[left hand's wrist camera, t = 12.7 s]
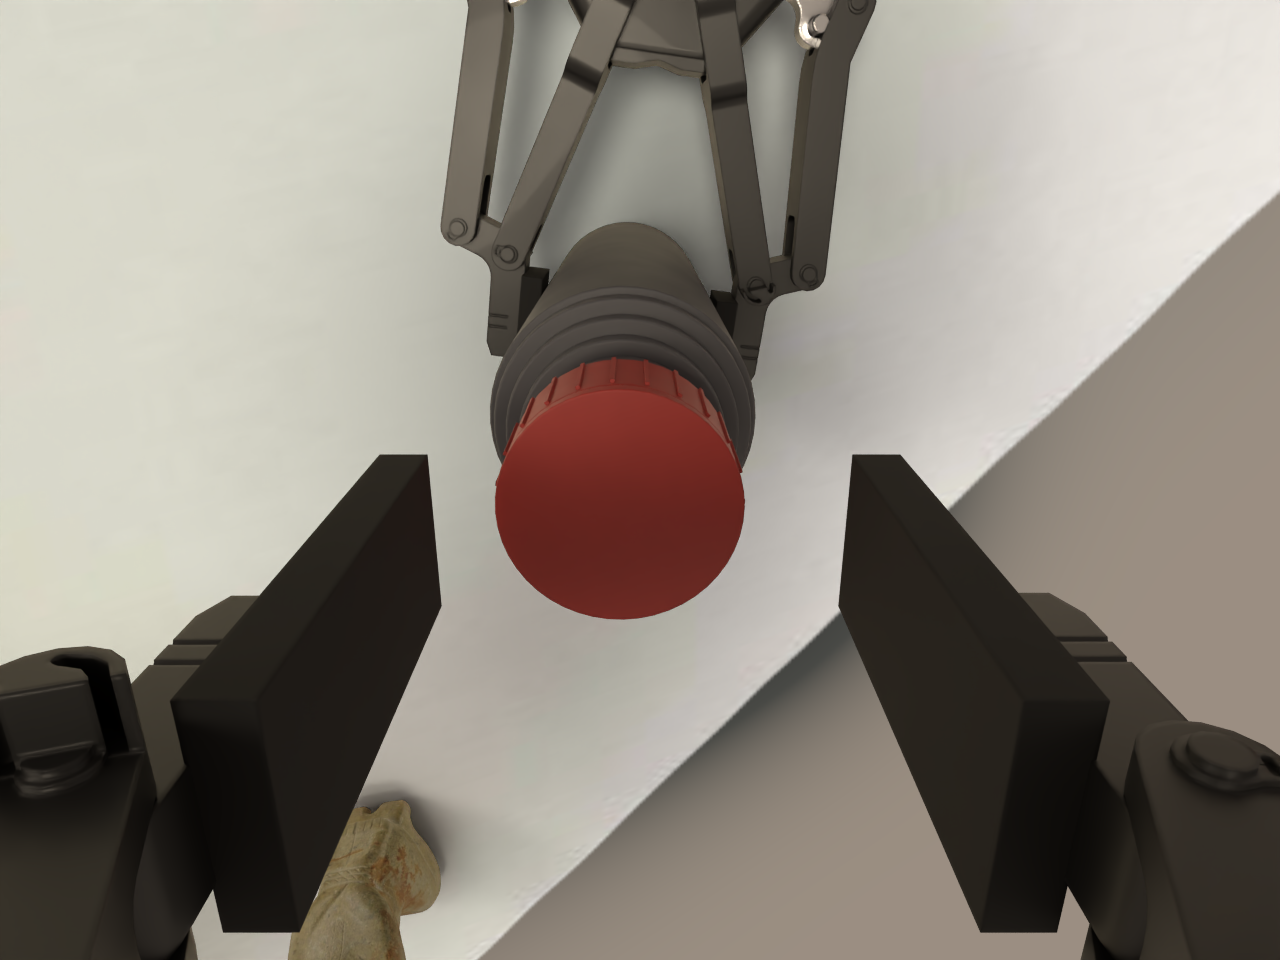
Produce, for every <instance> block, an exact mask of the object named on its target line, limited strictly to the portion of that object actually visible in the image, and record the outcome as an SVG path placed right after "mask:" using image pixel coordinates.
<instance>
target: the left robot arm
mask: <svg viewBox="0 0 1280 960" xmlns="http://www.w3.org/2000/svg"><path fill="white" fill-rule="evenodd" d="M441 606H442V605H441V595H440V584H439V573H438V562H437V552H436V541H435V530H434V519H433V509H432V498H431V487H430V476H429V466H428V455H379V456H378V457H377V458H376V460H375V461H374V462H373V463H372V464H371V465H370V467H369V468H368V469H367V470H366V471H365V473H364V474H363V475H362V476H361V477H360V478H359V480H358V481H357V482H356V483H355V484H354V485H353V487H352V488H351V489H350V490H349V491H348V492H347V494H346V495H345V496H344V497H343V498H342V499H341V501H340V502H339V503H338V504H337V505H336V507H335V508H334V509H333V510H332V511H331V512H330V514H329V515H328V516H327V517H326V518H325V519H324V521H323V522H322V523H321V524H320V525H319V526H318V528H317V529H316V530H315V531H314V532H313V533H312V535H311V536H310V537H309V538H308V539H307V540H306V542H305V543H304V544H303V545H302V546H301V548H300V549H299V550H298V551H297V552H296V553H295V555H294V556H293V557H292V558H291V559H290V560H289V562H288V563H287V564H286V565H285V566H284V567H283V569H282V570H281V571H280V572H279V573H278V574H277V576H276V577H275V578H274V579H273V580H272V581H271V583H270V584H269V585H268V586H267V587H266V589H265V590H264V591H263V592H262V593H261V594H260V596H230V597H228V598H227V599H225V600H223V601H221V602H220V603H218V604H216V605H214V606H213V607H211V608H209V609H207V610H206V611H204V612H202V613H200V614H199V615H197V616H196V617H195V618H194V619H193V620H192V621H191V622H190V623H189V624H188V625H187V626H186V627H185V628H184V629H183V630H182V631H181V632H180V633H179V634H178V635H177V636H176V638H175V639H174V640H173V645H168V646H167V647H166V648H165V649H164V650H163V651H162V652H161V653H160V654H159V655H158V656H157V657H156V659H155V660H154V665H149V666H148V667H147V668H146V669H145V670H144V671H143V672H142V673H141V674H140V675H139V676H138V677H137V678H136V680H135V681H134V682H133V683H132V684H131V682H130V678H129V674H128V670H127V666H126V662H125V659H124V658H123V657H121V656H120V655H118V654H117V653H115V652H114V651H112V650H109V649H103V648H96V647H90V646H85V647H71V648H58V649H54V650H49V651H45V652H41V653H37V654H32V655H28V656H24V657H22V658H19V659H16V660H14V661H11V662H9V663H6V664H4V665H1V666H0V960H198V958H197V951H196V944H195V940H194V936H193V932H192V928H191V926H192V924H193V923H194V921H195V919H196V918H197V916H198V914H199V912H200V911H201V909H202V907H203V905H204V904H205V902H206V900H207V899H208V897H209V895H210V893H211V892H212V890H213V891H214V895H215V899H216V904H217V908H218V912H219V917H220V921H221V925H222V930H223V933H300V930H301V928H302V926H303V923H304V921H305V919H306V916H307V914H308V912H309V910H310V907H311V905H312V903H313V900H314V898H315V896H316V894H317V891H318V889H319V887H320V884H321V882H322V880H323V877H324V875H325V873H326V871H327V868H328V866H329V864H330V861H331V859H332V857H333V854H334V852H335V850H336V848H337V845H338V843H339V841H340V838H341V836H342V834H343V831H344V829H345V827H346V825H347V822H348V820H349V818H350V815H351V813H352V811H353V808H354V806H355V804H356V802H357V799H358V797H359V795H360V792H361V790H362V788H363V785H364V783H365V781H366V779H367V776H368V774H369V772H370V769H371V767H372V765H373V762H374V760H375V758H376V756H377V753H378V751H379V749H380V746H381V744H382V742H383V739H384V737H385V735H386V733H387V730H388V728H389V726H390V723H391V721H392V719H393V716H394V714H395V712H396V710H397V707H398V705H399V703H400V700H401V698H402V696H403V693H404V691H405V689H406V687H407V684H408V682H409V680H410V677H411V675H412V673H413V670H414V668H415V666H416V664H417V661H418V659H419V657H420V654H421V652H422V650H423V647H424V645H425V643H426V641H427V638H428V636H429V634H430V631H431V629H432V627H433V624H434V622H435V620H436V618H437V615H438V613H439V611H440V608H441ZM838 606H839V608H840V611H841V613H842V615H843V618H844V620H845V622H846V624H847V627H848V629H849V631H850V634H851V636H852V638H853V641H854V643H855V645H856V647H857V650H858V652H859V654H860V657H861V659H862V661H863V664H864V666H865V668H866V670H867V673H868V675H869V677H870V680H871V682H872V684H873V687H874V689H875V691H876V693H877V696H878V698H879V700H880V703H881V705H882V707H883V709H884V712H885V714H886V716H887V719H888V721H889V723H890V726H891V728H892V730H893V733H894V735H895V737H896V739H897V742H898V744H899V746H900V748H901V751H902V753H903V756H904V758H905V760H906V762H907V765H908V767H909V769H910V772H911V774H912V776H913V779H914V781H915V783H916V785H917V788H918V790H919V792H920V795H921V797H922V799H923V802H924V804H925V806H926V808H927V811H928V813H929V815H930V818H931V820H932V822H933V825H934V827H935V829H936V831H937V834H938V836H939V838H940V841H941V843H942V845H943V848H944V850H945V852H946V854H947V857H948V859H949V861H950V864H951V866H952V868H953V870H954V873H955V875H956V877H957V880H958V882H959V884H960V887H961V889H962V891H963V893H964V896H965V898H966V900H967V903H968V905H969V907H970V909H971V912H972V914H973V916H974V919H975V921H976V923H977V926H978V928H979V930H980V932H981V933H1056V932H1057V930H1058V925H1059V921H1060V917H1061V912H1062V908H1063V904H1064V899H1065V895H1066V891H1067V886H1068V887H1069V889H1070V891H1071V892H1072V894H1073V896H1074V897H1075V899H1076V901H1077V903H1078V904H1079V906H1080V908H1081V909H1082V911H1083V913H1084V915H1085V916H1086V918H1087V920H1088V921H1089V923H1090V924H1089V928H1088V932H1087V936H1086V940H1085V944H1084V949H1083V953H1082V957H1081V960H1280V756H1279V755H1278V754H1276V753H1275V752H1273V751H1272V750H1271V749H1269V748H1268V747H1266V746H1265V745H1263V744H1260V743H1258V742H1256V741H1254V740H1252V739H1249V738H1247V737H1245V736H1243V735H1241V734H1238V733H1236V732H1234V731H1231V730H1227V729H1223V728H1220V727H1216V726H1212V725H1209V724H1205V723H1201V722H1190V721H1188V720H1187V719H1186V718H1185V717H1184V716H1183V715H1182V714H1181V713H1180V712H1179V711H1178V710H1177V709H1176V708H1175V707H1174V706H1173V705H1172V704H1171V703H1170V701H1169V700H1168V699H1167V698H1166V697H1165V696H1164V695H1163V694H1162V693H1161V692H1160V691H1159V690H1158V689H1157V688H1156V687H1155V686H1154V685H1153V684H1152V683H1151V682H1150V681H1149V680H1148V679H1147V677H1146V676H1145V675H1144V674H1143V673H1142V672H1141V671H1140V670H1139V669H1138V668H1137V667H1136V666H1135V665H1134V664H1133V663H1132V662H1127V657H1126V656H1125V655H1124V654H1123V652H1122V651H1121V650H1120V649H1119V648H1118V647H1117V646H1116V645H1115V644H1114V643H1113V642H1108V638H1107V636H1106V635H1105V634H1104V633H1103V632H1102V631H1101V630H1100V629H1099V627H1098V626H1097V625H1096V624H1095V623H1094V622H1093V621H1092V620H1091V619H1090V618H1089V617H1088V616H1087V615H1086V614H1085V613H1084V612H1082V611H1080V610H1078V609H1077V608H1075V607H1073V606H1071V605H1069V604H1068V603H1066V602H1064V601H1062V600H1061V599H1059V598H1057V597H1055V596H1054V595H1052V594H1050V593H1018V592H1017V591H1016V590H1015V589H1014V587H1013V586H1012V585H1011V584H1010V583H1009V581H1008V580H1007V579H1006V578H1005V577H1004V576H1003V574H1002V573H1001V572H1000V571H999V570H998V569H997V567H996V566H995V565H994V564H993V563H992V562H991V560H990V559H989V558H988V557H987V556H986V555H985V553H984V552H983V551H982V550H981V549H980V548H979V546H978V545H977V544H976V543H975V542H974V541H973V539H972V538H971V537H970V536H969V535H968V533H967V532H966V531H965V530H964V529H963V528H962V526H961V525H960V524H959V523H958V522H957V521H956V519H955V518H954V517H953V516H952V515H951V514H950V512H949V511H948V510H947V509H946V508H945V507H944V505H943V504H942V503H941V502H940V501H939V499H938V498H937V497H936V496H935V495H934V494H933V492H932V491H931V490H930V489H929V488H928V487H927V485H926V484H925V483H924V482H923V481H922V480H921V478H920V477H919V476H918V475H917V474H916V473H915V471H914V470H913V469H912V468H911V467H910V465H909V464H908V463H907V462H906V461H905V460H904V458H903V457H902V456H901V455H852V466H851V476H850V487H849V498H848V509H847V519H846V530H845V541H844V552H843V562H842V573H841V584H840V595H839V605H838Z"/></svg>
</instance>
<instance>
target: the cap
mask: <svg viewBox="0 0 1280 960" xmlns="http://www.w3.org/2000/svg"><path fill="white" fill-rule="evenodd" d="M503 455H505V456H506V457H505V459H504V462H503V464H502V467H501V470H500V473H499V476H498V478H497V480H496V485H495V486H496V494H495V514H496V520H497V526H498V530H499V533H500V537H501V540H502V543H503V545H504V547H505V549H506V552H507V554H508V556H509V557H510V559H511V560H512V562H513V564H514V565H515V567H516V568H517V570H518V571H519V572H520V573H521V574H522V576H523V577H524V578H525V579H526V580H527V581H528V582H529V583H530V584H531V585H532V586H533V587H534V588H535V589H536V590H538V591H539V592H540V593H542V594H543V595H544V596H546V597H547V598H549V599H550V600H552V601H554V602H556V603H557V604H559V605H561V606H563V607H565V608H568V609H570V610H573V611H575V612H578V613H581V614H585V615H588V616H592V617H598V618H605V619H636V618H643V617H648V616H653V615H656V614H659V613H662V612H666V611H669V610H671V609H673V608H675V607H677V606H679V605H682V604H683V603H685V602H687V601H688V600H690V599H692V598H693V597H695V596H696V595H697V594H699V593H700V592H701V591H702V590H704V589H705V588H706V587H707V586H708V585H709V584H710V583H711V582H712V581H713V580H714V579H715V578H716V577H717V576H718V575H719V574H720V572H721V571H722V570H723V568H724V567H725V566H726V564H727V563H728V561H729V559H730V557H731V555H732V554H733V552H734V550H735V547H736V545H737V542H738V540H739V537H740V533H741V529H742V525H743V519H744V508H745V499H744V490H743V484H742V479H741V475H740V473H742V468H741V465H740V462H739V459H738V457H737V454H736V451H735V448H734V445H733V442H732V439H730V438H729V435H728V432H727V429H726V426H725V423H724V420H723V417H722V414H721V413H720V411H719V412H716V410H715V409H714V407H713V406H712V404H711V403H710V401H709V400H708V399H707V398H706V397H705V395H704V392H703V390H702V389H701V388H699V389H697V388H696V387H695V386H694V385H693V384H691V383H690V382H689V381H688V380H686V379H684V378H683V377H681V376H680V375H679V374H678V371H676V370H674V371H673V372H672V371H670V370H668V369H666V368H664V367H661V366H658V365H655V364H652V363H648V360H646V359H644V361H637V360H626V359H616V357H612V360H603V361H599V362H594V363H590V364H586V365H585V363H581V364H580V367H578V368H575V369H573V370H571V371H569V372H567V373H565V374H563V375H562V376H560V377H559V378H557V377H556V376H555V377H554V378H552V381H551V383H550V384H549V385H548V386H547V387H546V388H545V389H543V390H542V391H541V392H540V393H539V394H538V395H537V397H536V398H534V397H532V398H531V399H530V401H529V404H528V406H527V409H526V411H525V413H524V415H523V417H522V419H521V421H520V424H519V423H516V425H515V427H514V429H513V432H512V434H511V436H510V439H509V441H508V443H507V446H506V448H505V450H504V453H503Z"/></svg>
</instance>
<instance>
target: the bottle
mask: <svg viewBox="0 0 1280 960" xmlns="http://www.w3.org/2000/svg"><path fill="white" fill-rule="evenodd" d="M612 357H616V359H626V360H637V361H644V359H646V360H648V363H652V364H655V365H658V366H661V367H664V368H666V369H668V370H670V371H672V372H673V371H674V370H676V371H678V374H679V375H680V376H681V377H683V378H684V379H686V380H688V381H689V382H690V383H691V384H693V385H694V386H695V387H696V388H697V389H699V388H701V389H702V390H703V392H704V395H705V397H706V398H707V399H708V400H709V401H710V403H711V404H712V406H713V407H714V409H715V410H716V412H719V411H720V413H721V414H722V417H723V420H724V423H725V426H726V429H727V432H728V435H729V438H730V439H732V442H733V445H734V448H735V451H736V454H737V457H738V459H739V462H740V465H741V468H743V466H744V464H745V461H746V459H747V456H748V454H749V451H750V447H751V443H752V439H753V435H754V426H755V399H754V394H753V388H752V383H751V380H750V377H749V374H748V371H747V368H746V366H745V364H744V362H743V359H742V357H741V355H740V353H739V351H738V349H737V348H736V346H735V344H734V342H733V340H732V338H731V337H730V335H729V333H728V331H727V329H726V327H725V325H724V324H723V322H722V320H721V318H720V316H719V314H718V312H717V311H716V309H715V307H714V305H713V303H712V301H711V300H710V298H709V296H708V294H707V292H706V290H705V288H704V287H703V285H702V283H701V281H700V279H699V277H698V275H697V274H696V272H695V270H694V268H693V266H692V264H691V263H690V261H689V259H688V257H687V256H686V254H685V253H684V251H683V250H682V249H681V248H680V246H679V245H678V244H677V243H676V242H675V241H674V240H673V239H671V238H670V237H669V236H667V235H666V234H664V233H663V232H661V231H659V230H657V229H655V228H653V227H650V226H647V225H644V224H639V223H630V222H623V223H614V224H610V225H606V226H603V227H601V228H598V229H596V230H594V231H592V232H590V233H589V234H587V235H586V236H585V237H583V238H582V239H581V240H580V241H579V242H578V243H577V244H576V245H575V246H574V247H573V248H572V249H571V251H570V252H569V253H568V255H567V256H566V258H565V260H564V261H563V263H562V264H561V266H560V267H559V269H558V271H557V272H556V274H555V275H554V277H553V279H552V280H551V282H550V283H549V285H548V286H547V288H546V290H545V291H544V293H543V294H542V296H541V297H540V299H539V301H538V302H537V304H536V305H535V307H534V308H533V310H532V312H531V313H530V315H529V316H528V318H527V320H526V321H525V323H524V324H523V326H522V327H521V329H520V331H519V332H518V334H517V335H516V337H515V338H514V340H513V342H512V343H511V345H510V347H509V348H508V350H507V352H506V353H505V355H504V357H503V359H502V361H501V364H500V366H499V368H498V371H497V373H496V377H495V381H494V385H493V389H492V396H491V404H490V423H491V430H492V436H493V441H494V444H495V448H496V451H497V455H498V457H499V459H500V462H501V464H503V462H504V459H505V457H506V456H505V455H503V453H504V450H505V448H506V446H507V443H508V441H509V439H510V436H511V434H512V432H513V429H514V427H515V425H516V423H519V424H520V421H521V419H522V417H523V415H524V413H525V411H526V409H527V406H528V404H529V401H530V399H531V398H532V397H534V398H536V397H537V395H538V394H539V393H540V392H541V391H542V390H543V389H545V388H546V387H547V386H548V385H549V384H550V383H551V381H552V378H554V377H555V376H556V377H557V378H559V377H560V376H562V375H563V374H565V373H567V372H569V371H571V370H573V369H575V368H578V367H580V364H581V363H585V365H586V364H590V363H594V362H599V361H603V360H612Z"/></svg>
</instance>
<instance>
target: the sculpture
mask: <svg viewBox="0 0 1280 960" xmlns="http://www.w3.org/2000/svg"><path fill="white" fill-rule="evenodd" d="M410 814H411V809H410V806H409V805H408V803H407V802H405V801H404V800H398V801H390V802H385V803H383V804H381V806H380V807H379V808H378V809H377V810H376V811H375V812H374V813H372V812H371V810H370V809H368V808H366V807H360V808H355V809H353V811H352V813H351V815H350V818H349V820H348V822H347V825H346V827H345V829H344V831H343V834H342V836H341V838H340V841H339V843H338V845H337V848H336V850H335V852H334V854H333V857H332V859H331V861H330V864H329V866H328V868H327V871H326V873H325V875H324V877H323V880H322V882H321V886H320V889H319V893H318V896H317V898H316V899H315V900H314V902H313V903H312V905H311V907H310V910H309V912H308V914H307V916H306V919H305V921H304V923H303V926H302V928H301V930H300V933H292V935H291V941H290V947H289V954H288V960H406V958H405V952H404V948H403V944H402V940H401V935H400V930H399V926H400V916H403V915H409V914H415V913H420V912H423V911H425V910H427V909H428V908H430V907H431V906H432V904H433V903H434V902H435V900H436V898H437V896H438V894H439V891H440V885H441V875H440V870H439V866H438V864H437V861H436V859H435V857H434V855H433V853H432V851H431V850H430V848H429V847H428V845H427V844H426V842H425V841H424V840H423V839H422V838H421V837H420V835H419V834H418V833H417V832H416V830H415V829H414V827H413V825H412V822H411V819H410Z"/></svg>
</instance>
